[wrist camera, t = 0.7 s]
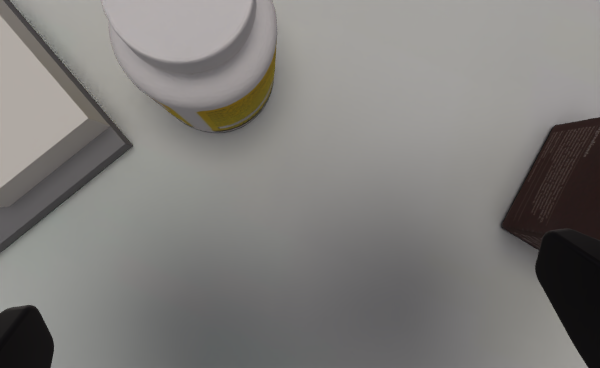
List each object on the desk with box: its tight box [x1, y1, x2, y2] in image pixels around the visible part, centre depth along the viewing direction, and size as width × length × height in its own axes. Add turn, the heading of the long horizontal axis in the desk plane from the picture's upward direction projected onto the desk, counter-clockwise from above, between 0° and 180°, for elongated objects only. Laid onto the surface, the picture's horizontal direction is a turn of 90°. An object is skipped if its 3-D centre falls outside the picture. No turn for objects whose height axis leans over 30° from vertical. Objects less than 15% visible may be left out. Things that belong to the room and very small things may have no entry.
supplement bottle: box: [101, 0, 277, 132], centre depth 16 cm, size 5×5×10 cm
